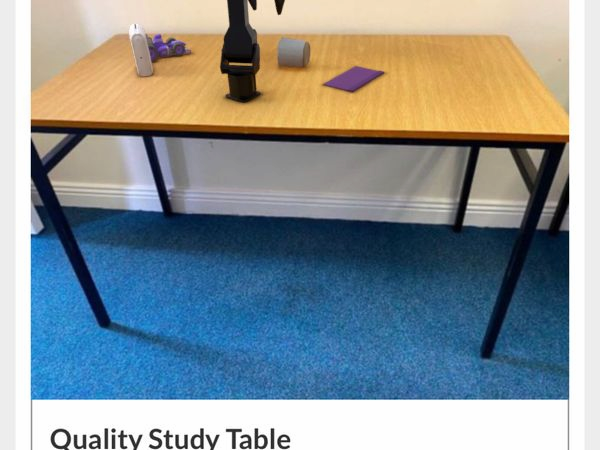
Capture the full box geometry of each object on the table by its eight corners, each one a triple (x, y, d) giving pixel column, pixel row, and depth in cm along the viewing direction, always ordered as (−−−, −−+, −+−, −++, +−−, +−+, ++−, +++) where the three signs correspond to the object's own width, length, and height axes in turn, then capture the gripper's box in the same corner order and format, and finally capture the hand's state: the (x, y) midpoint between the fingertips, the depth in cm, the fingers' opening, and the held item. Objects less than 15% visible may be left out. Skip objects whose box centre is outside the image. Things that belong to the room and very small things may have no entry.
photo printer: (154, 75, 131) (144, 29, 124) (138, 77, 131) (127, 31, 123) (152, 63, 139) (142, 19, 132) (137, 65, 138) (126, 21, 131)
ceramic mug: (305, 71, 131) (305, 43, 126) (277, 70, 132) (275, 41, 128) (313, 59, 139) (313, 32, 134) (287, 58, 141) (286, 31, 136)
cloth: (352, 92, 119) (352, 90, 118) (323, 85, 123) (323, 83, 123) (384, 73, 129) (384, 71, 128) (355, 67, 133) (355, 65, 133)
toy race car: (193, 54, 145) (189, 32, 141) (144, 64, 139) (139, 41, 135) (182, 46, 151) (179, 25, 147) (136, 55, 146) (130, 33, 142)
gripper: (309, -53, 124) (310, 10, 134) (257, -58, 133) (261, 2, 143) (282, -47, 117) (285, 19, 127) (229, -52, 126) (235, 10, 136)
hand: (266, 12), depth 133 cm, fingers open, 9 cm apart
